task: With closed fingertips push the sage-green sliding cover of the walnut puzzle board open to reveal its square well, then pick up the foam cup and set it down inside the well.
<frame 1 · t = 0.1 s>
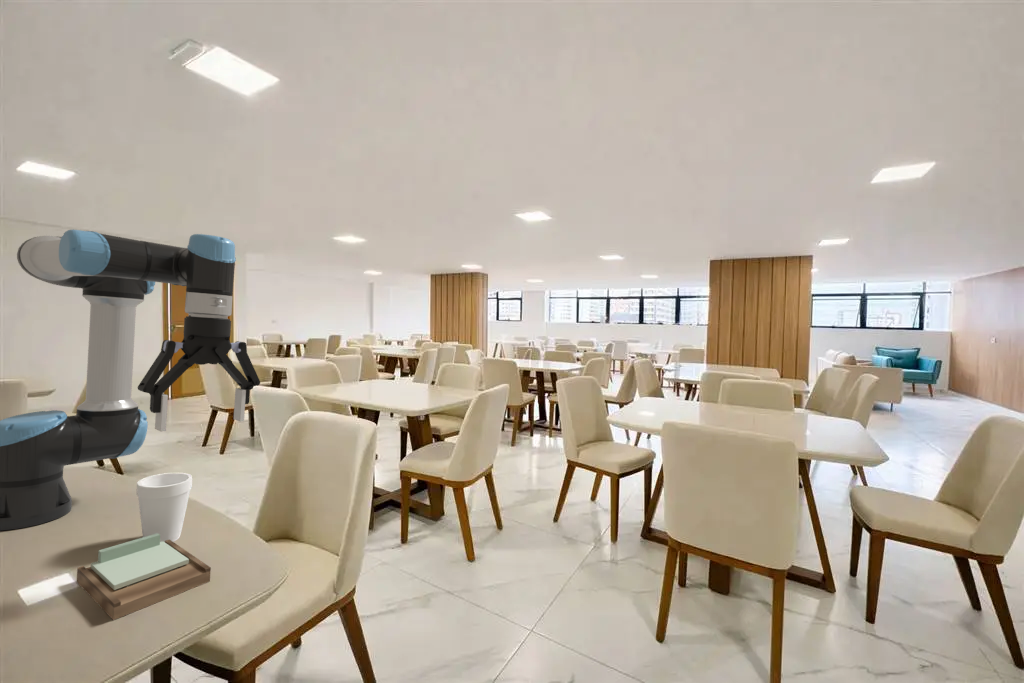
hand: (202, 425, 87), 28 cm above the table, fingers open, 13 cm apart
foam cup: (162, 539, 97), on the table
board: (144, 581, 81), on the table
cover: (141, 558, 82), point 4 cm above the table, slide at 0.0 cm
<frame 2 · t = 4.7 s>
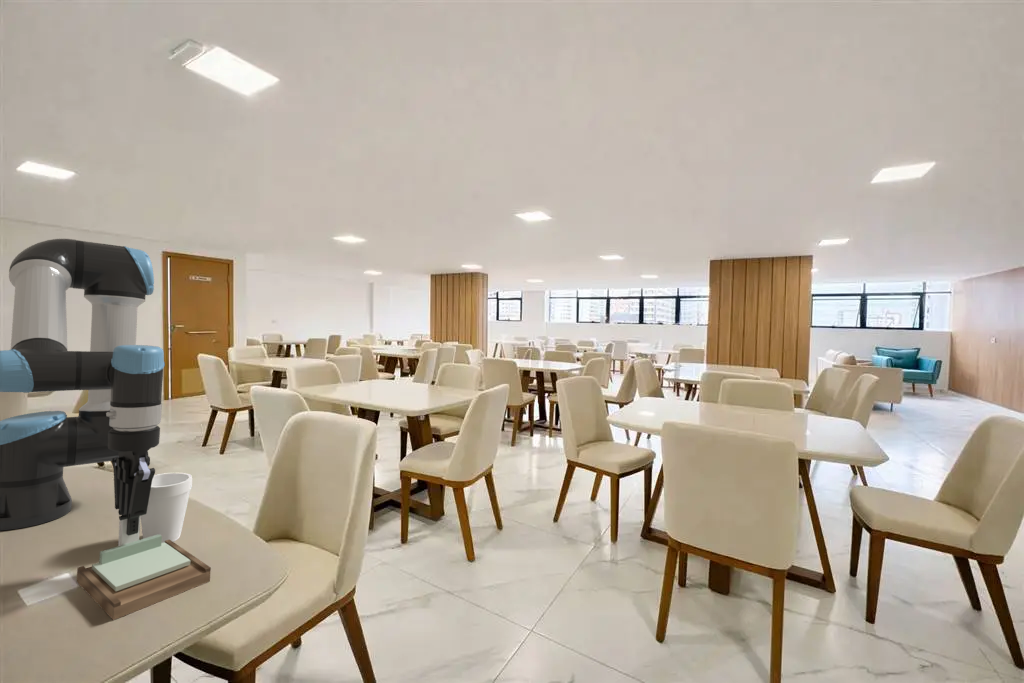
hand: (128, 549, 85), 4 cm above the table, fingers closed
cover: (142, 559, 82), point 4 cm above the table, slide at 0.7 cm, touching gripper
everything else where it was.
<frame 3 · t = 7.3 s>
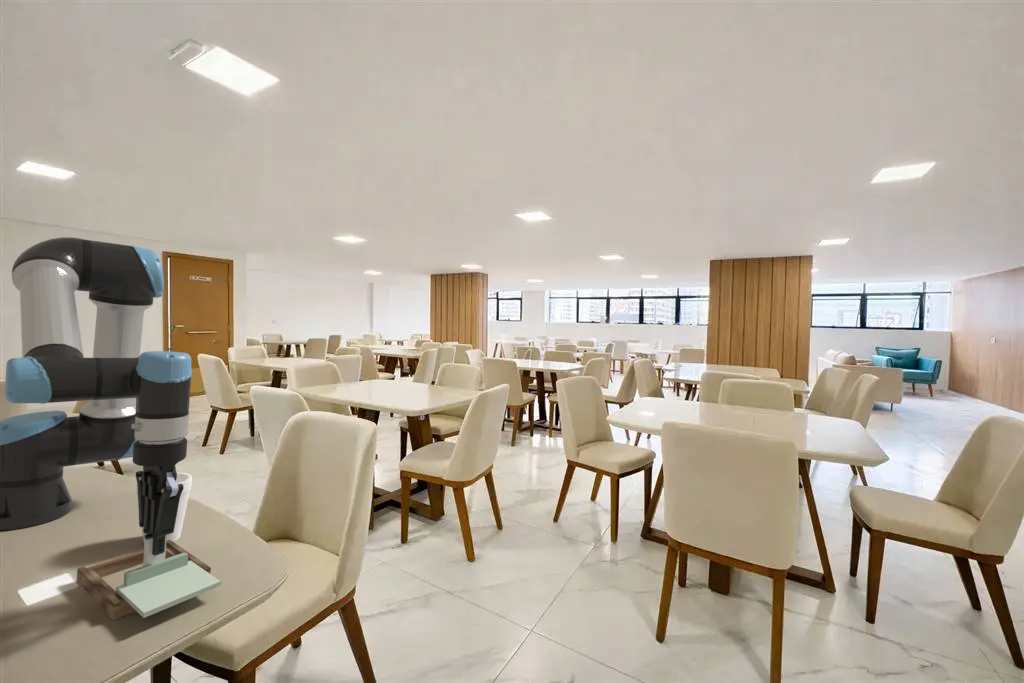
hand: (153, 569, 79), 3 cm above the table, fingers closed
cover: (169, 580, 76), point 4 cm above the table, slide at 11.7 cm, touching gripper
everything else where it was.
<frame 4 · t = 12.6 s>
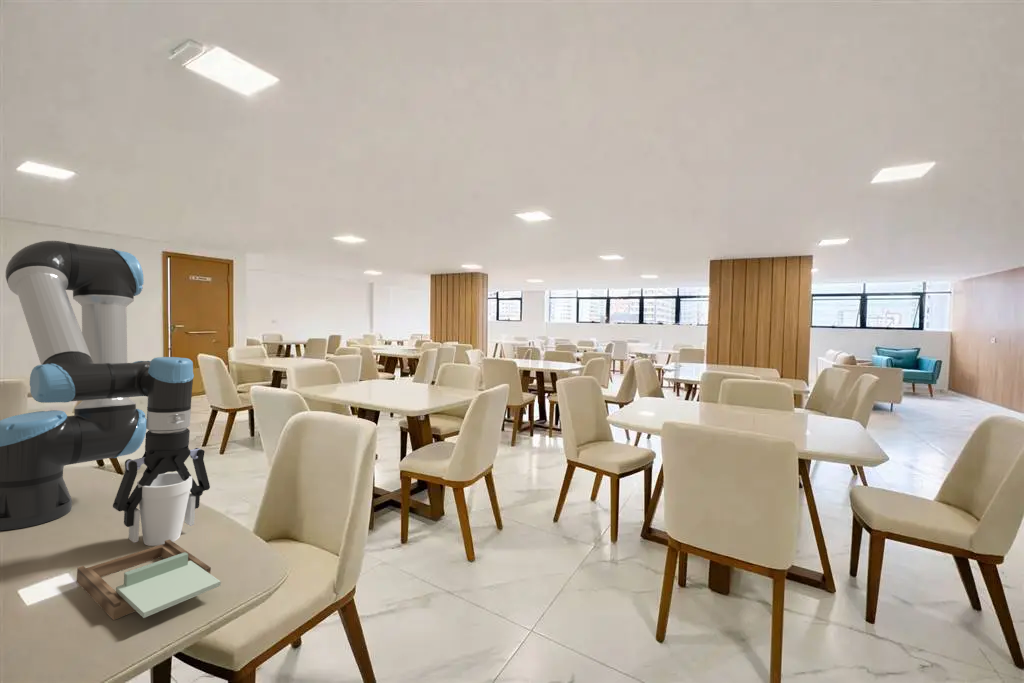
hand: (162, 531, 97), 2 cm above the table, fingers closed on foam cup, 9 cm apart
foam cup: (162, 539, 97), on the table, touching gripper
cover: (169, 580, 76), point 4 cm above the table, slide at 11.7 cm
when the fingers open (4 cm above the table, at t = 18.6 s): foam cup drops 2 cm, resting in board.
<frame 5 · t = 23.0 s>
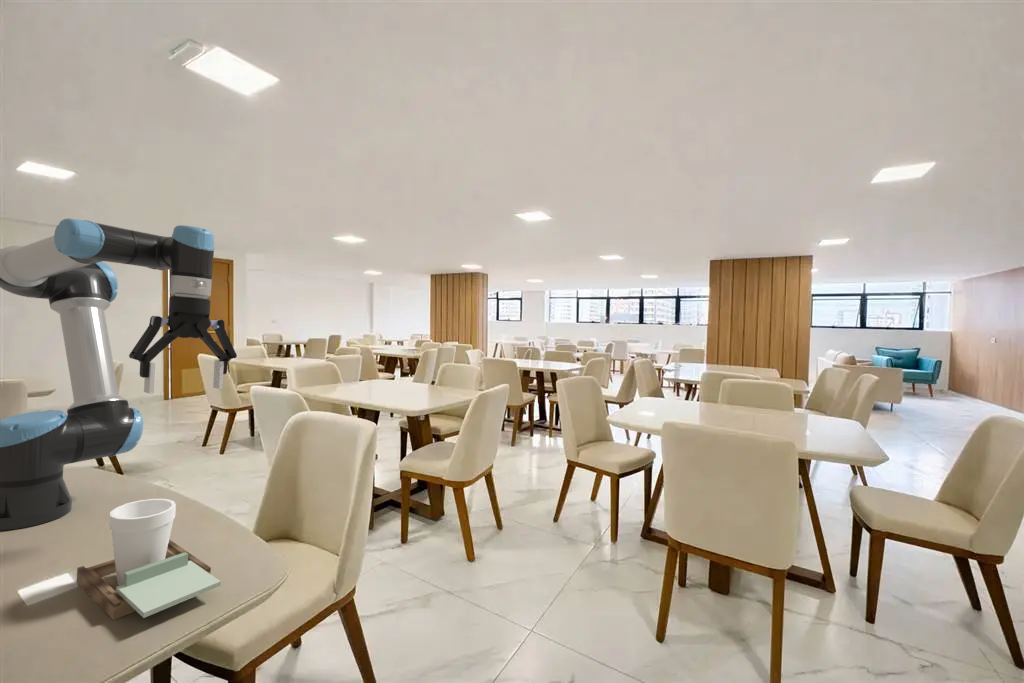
hand: (185, 390, 101), 32 cm above the table, fingers open, 13 cm apart
foam cup: (139, 578, 82), resting in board
everything else where it was.
at the end: cover slide at 11.7 cm; foam cup inside the target area on the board (0.0 cm from its centre), point 0.0 cm above the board's base; foam cup tilted 0° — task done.
